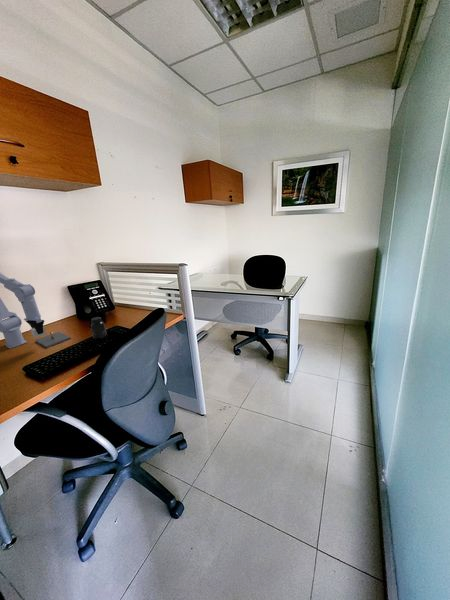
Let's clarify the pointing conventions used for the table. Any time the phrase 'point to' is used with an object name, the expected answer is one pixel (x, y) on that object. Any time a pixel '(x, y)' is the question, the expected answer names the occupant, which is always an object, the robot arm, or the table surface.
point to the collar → (37, 333)
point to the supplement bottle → (98, 328)
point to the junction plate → (53, 339)
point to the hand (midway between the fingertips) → (38, 332)
